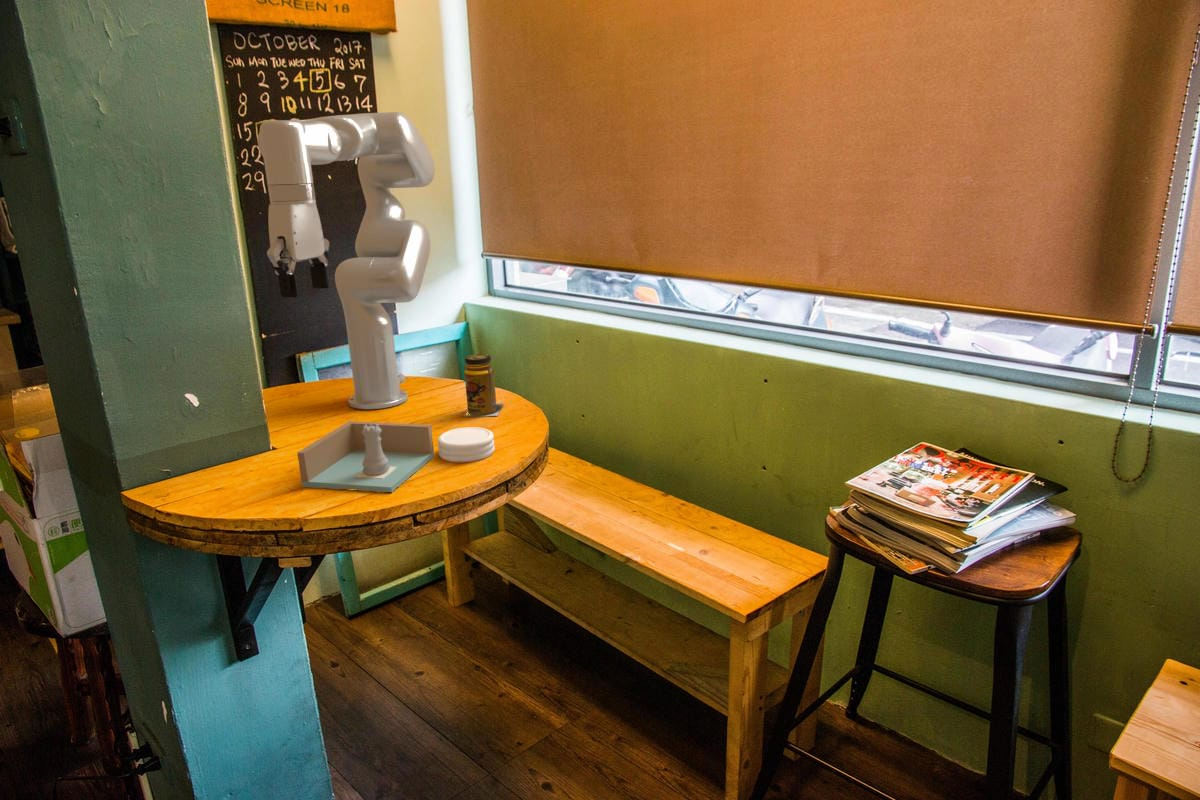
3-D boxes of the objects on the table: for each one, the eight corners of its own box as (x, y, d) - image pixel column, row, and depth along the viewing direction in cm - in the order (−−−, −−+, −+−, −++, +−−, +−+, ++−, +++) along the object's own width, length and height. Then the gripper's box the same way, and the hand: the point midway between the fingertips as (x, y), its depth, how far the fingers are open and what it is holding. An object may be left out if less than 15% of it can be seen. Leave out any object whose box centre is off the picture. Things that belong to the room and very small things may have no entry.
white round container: (442, 445, 145) (440, 427, 144) (496, 442, 145) (495, 424, 144) (435, 465, 135) (433, 446, 134) (493, 462, 136) (492, 443, 135)
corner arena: (353, 452, 142) (349, 421, 140) (434, 456, 138) (431, 424, 137) (302, 486, 127) (297, 452, 125) (391, 493, 124) (387, 457, 122)
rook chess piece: (378, 464, 133) (372, 419, 130) (395, 469, 130) (390, 424, 128) (356, 472, 129) (350, 427, 127) (374, 478, 127) (368, 432, 124)
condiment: (462, 417, 160) (457, 360, 156) (471, 405, 168) (466, 350, 164) (497, 416, 160) (493, 360, 156) (504, 404, 168) (500, 350, 164)
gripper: (301, 193, 145) (314, 285, 150) (241, 198, 129) (258, 300, 134) (338, 192, 143) (349, 285, 148) (281, 197, 127) (296, 300, 132)
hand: (306, 292), depth 141 cm, fingers open, 9 cm apart
